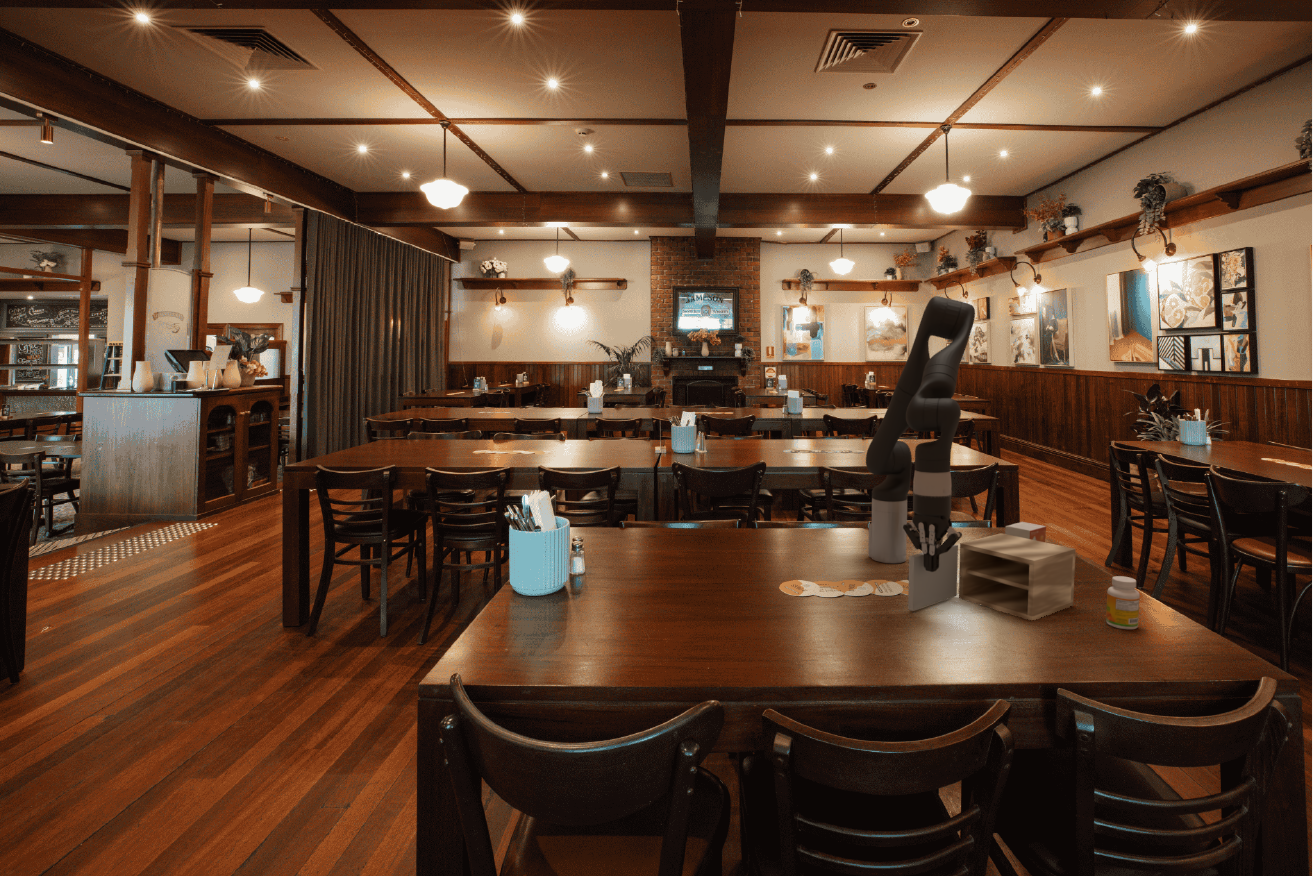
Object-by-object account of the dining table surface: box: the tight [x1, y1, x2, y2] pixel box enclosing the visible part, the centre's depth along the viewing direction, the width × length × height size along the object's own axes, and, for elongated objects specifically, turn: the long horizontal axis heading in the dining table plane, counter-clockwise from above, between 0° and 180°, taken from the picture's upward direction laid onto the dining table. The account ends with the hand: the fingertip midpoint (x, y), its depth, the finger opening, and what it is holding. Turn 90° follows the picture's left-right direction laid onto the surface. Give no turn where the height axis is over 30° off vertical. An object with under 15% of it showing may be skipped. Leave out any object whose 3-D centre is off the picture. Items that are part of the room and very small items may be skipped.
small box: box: [1004, 521, 1047, 543], centre depth 166 cm, size 8×6×13 cm
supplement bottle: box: [1105, 575, 1141, 630], centre depth 134 cm, size 5×5×10 cm
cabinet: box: [958, 532, 1077, 621], centre depth 148 cm, size 17×16×13 cm
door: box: [907, 543, 959, 612], centre depth 148 cm, size 16×2×12 cm, turn 123°
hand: (931, 570), depth 142 cm, fingers closed
